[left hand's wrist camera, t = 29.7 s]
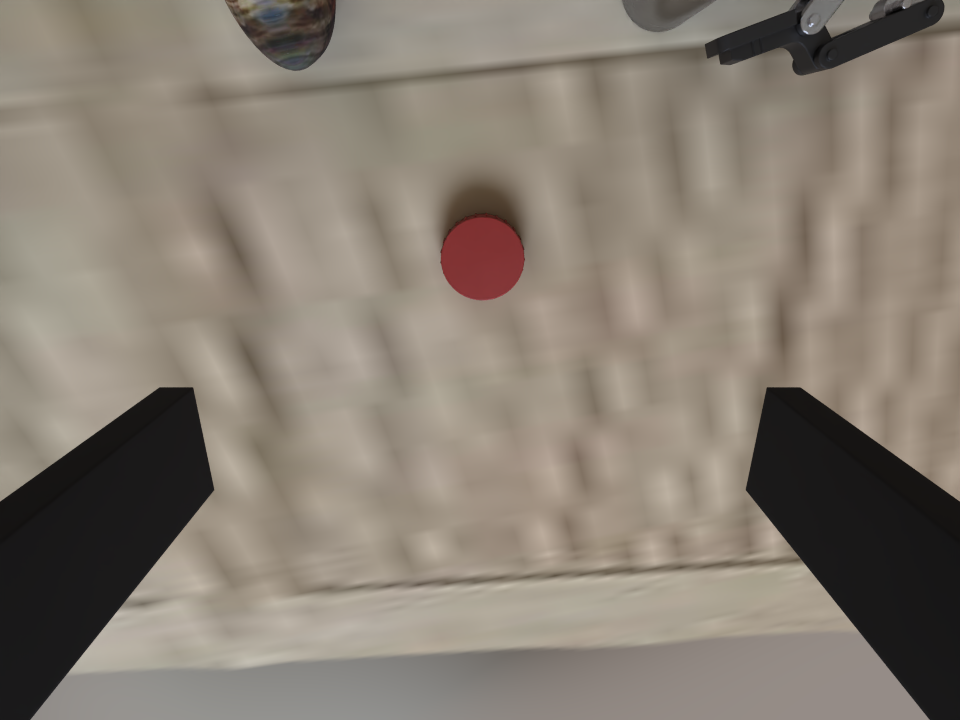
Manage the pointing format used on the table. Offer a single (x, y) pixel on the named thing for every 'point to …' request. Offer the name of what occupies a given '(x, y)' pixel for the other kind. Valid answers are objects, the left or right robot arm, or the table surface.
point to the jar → (663, 12)
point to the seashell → (287, 28)
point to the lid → (482, 257)
